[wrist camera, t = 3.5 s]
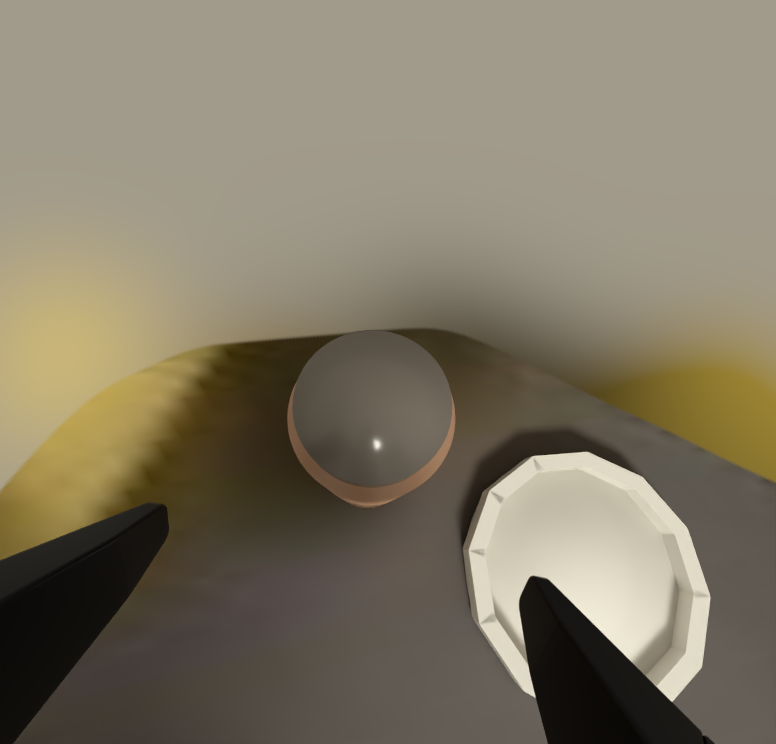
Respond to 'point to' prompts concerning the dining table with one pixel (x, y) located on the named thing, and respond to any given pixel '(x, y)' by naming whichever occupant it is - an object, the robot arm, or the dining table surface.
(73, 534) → the robot arm
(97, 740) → the dining table surface
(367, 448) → the spice jar
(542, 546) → the tray
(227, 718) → the dining table surface
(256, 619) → the dining table surface
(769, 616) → the dining table surface
